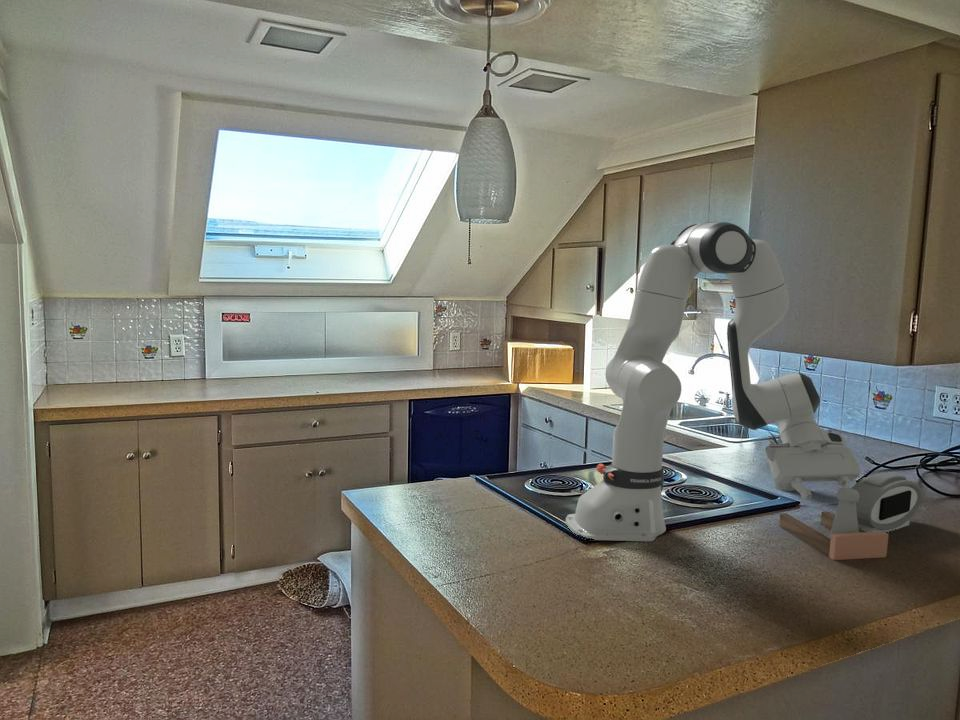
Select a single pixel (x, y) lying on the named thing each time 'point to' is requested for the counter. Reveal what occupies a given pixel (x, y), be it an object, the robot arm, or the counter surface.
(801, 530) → the walnut channel
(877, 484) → the alarm clock
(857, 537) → the block
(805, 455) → the robot arm
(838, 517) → the salt shaker
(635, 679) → the counter surface
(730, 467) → the counter surface
